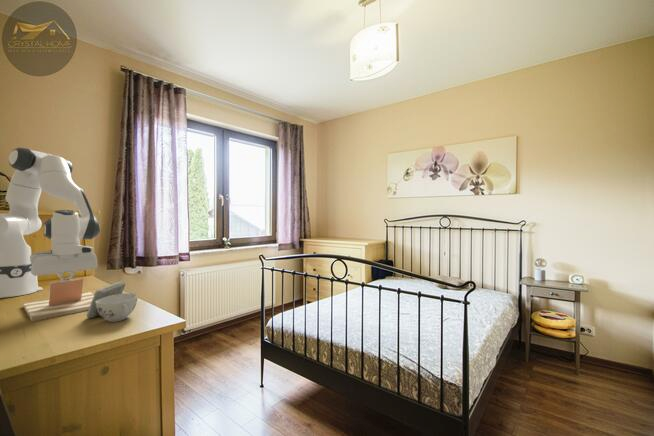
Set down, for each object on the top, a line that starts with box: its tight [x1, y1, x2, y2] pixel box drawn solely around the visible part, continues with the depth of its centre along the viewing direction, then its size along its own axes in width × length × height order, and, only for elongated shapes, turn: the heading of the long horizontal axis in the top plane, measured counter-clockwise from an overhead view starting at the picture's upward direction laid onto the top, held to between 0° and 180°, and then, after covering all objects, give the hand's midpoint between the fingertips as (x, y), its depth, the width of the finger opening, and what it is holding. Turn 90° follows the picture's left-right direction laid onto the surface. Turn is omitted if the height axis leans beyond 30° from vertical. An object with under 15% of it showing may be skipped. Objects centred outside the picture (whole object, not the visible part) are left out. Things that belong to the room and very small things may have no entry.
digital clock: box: [86, 280, 126, 319], centre depth 113 cm, size 16×9×11 cm, turn 174°
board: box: [22, 291, 95, 323], centre depth 120 cm, size 26×22×2 cm
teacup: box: [95, 292, 139, 323], centre depth 105 cm, size 15×12×8 cm
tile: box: [48, 277, 84, 306], centre depth 119 cm, size 11×10×1 cm
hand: (66, 282), depth 118 cm, fingers closed, pressing on tile
